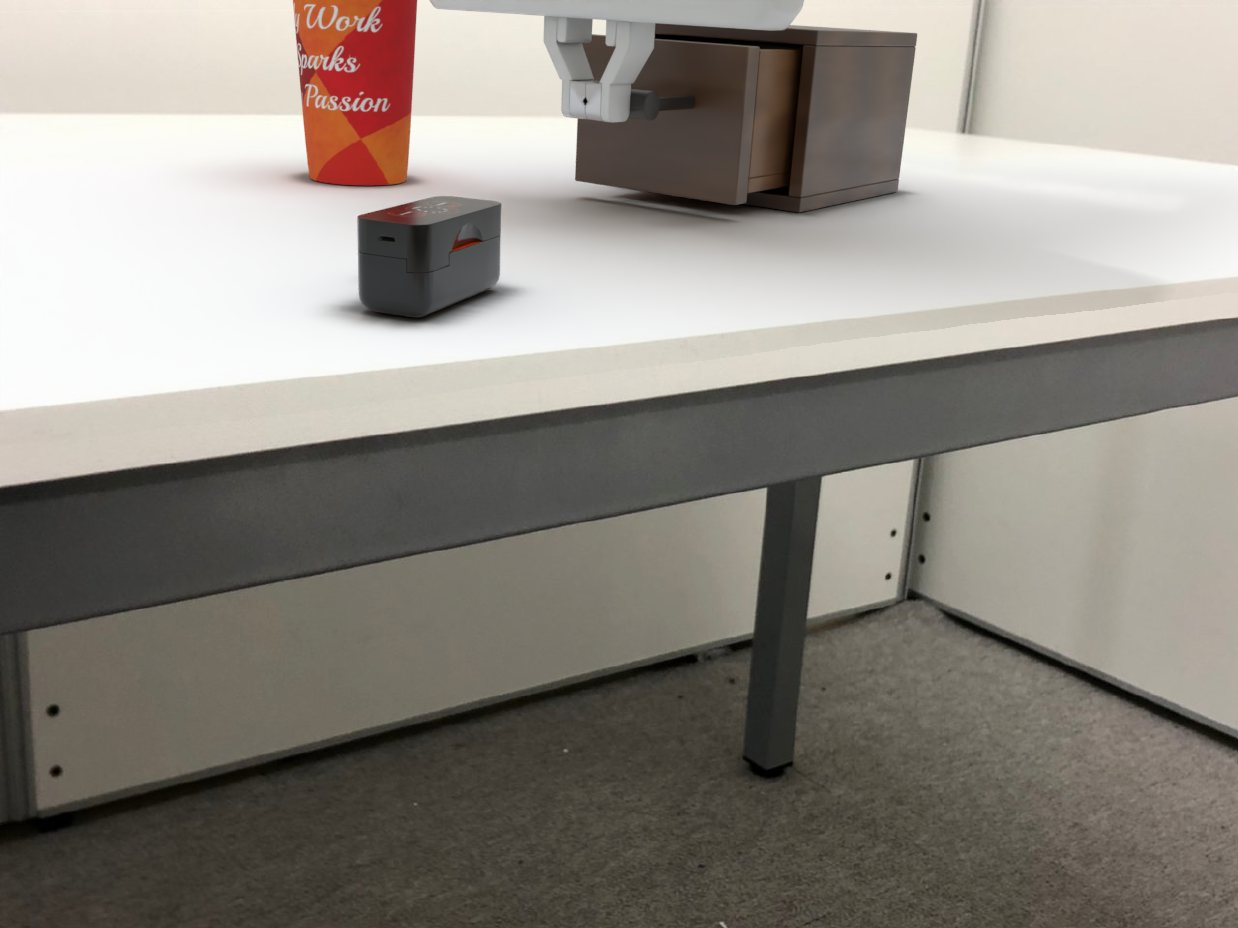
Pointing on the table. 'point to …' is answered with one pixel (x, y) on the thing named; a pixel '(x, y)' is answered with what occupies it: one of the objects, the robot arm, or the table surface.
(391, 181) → the paper cup
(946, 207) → the table surface
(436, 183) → the table surface
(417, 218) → the wireless earbuds
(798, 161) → the cabinet
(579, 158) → the drawer
